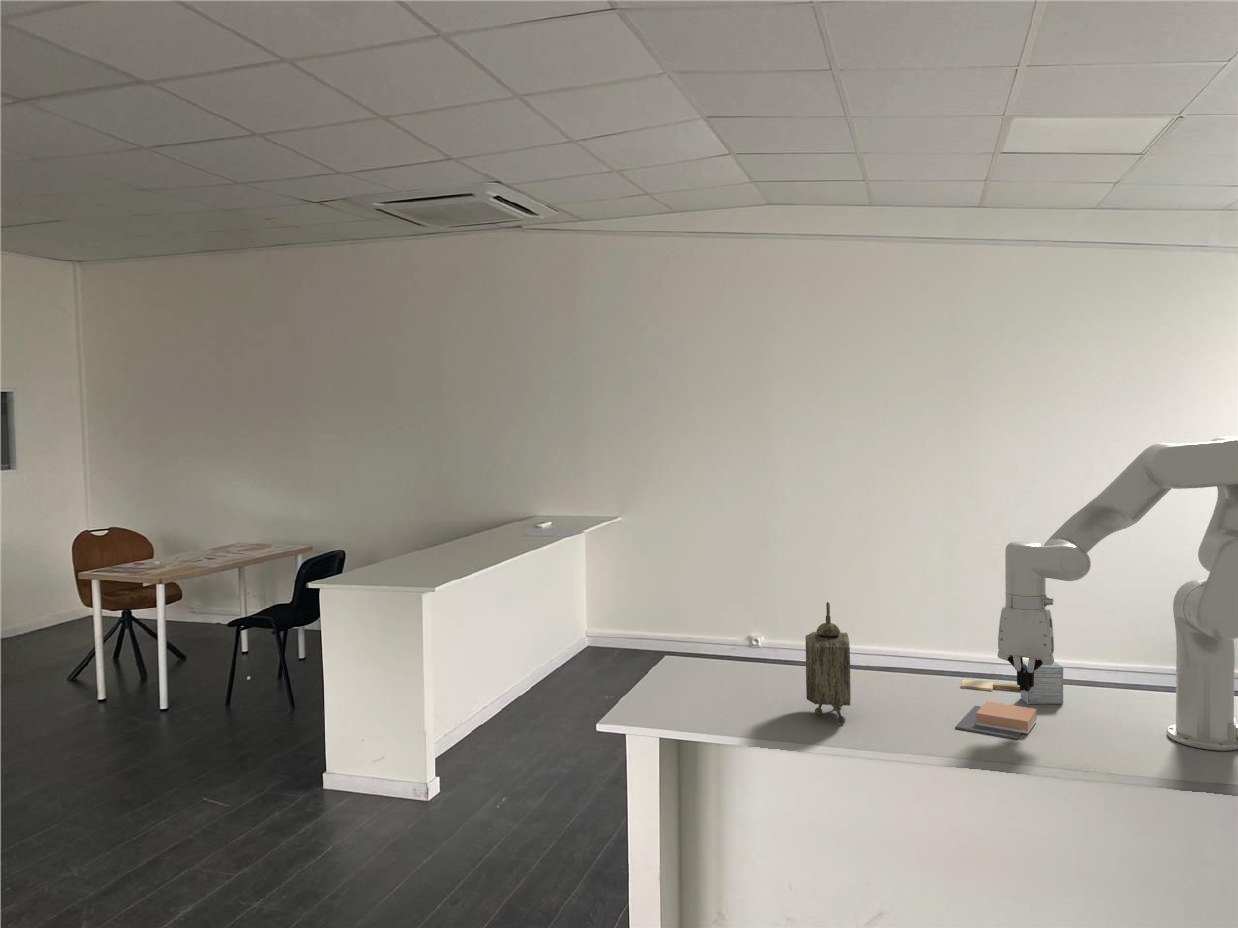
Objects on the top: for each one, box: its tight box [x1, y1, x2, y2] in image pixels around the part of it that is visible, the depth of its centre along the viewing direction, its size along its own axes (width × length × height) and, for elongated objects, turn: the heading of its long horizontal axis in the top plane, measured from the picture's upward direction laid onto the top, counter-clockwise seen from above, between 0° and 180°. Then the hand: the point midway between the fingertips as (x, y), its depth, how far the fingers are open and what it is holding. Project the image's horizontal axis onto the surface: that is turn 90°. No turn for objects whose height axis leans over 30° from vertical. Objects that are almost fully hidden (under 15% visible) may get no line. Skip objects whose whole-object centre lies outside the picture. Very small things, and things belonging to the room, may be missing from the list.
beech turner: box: [960, 679, 1021, 692], centre depth 209 cm, size 17×6×1 cm, turn 64°
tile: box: [976, 701, 1038, 735], centre depth 184 cm, size 2×9×10 cm
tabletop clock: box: [804, 601, 851, 725], centre depth 192 cm, size 14×9×25 cm, turn 168°
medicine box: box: [1020, 661, 1064, 705], centre depth 198 cm, size 8×4×9 cm, turn 84°
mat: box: [954, 705, 1023, 740], centre depth 186 cm, size 12×16×1 cm
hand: (1025, 689), depth 182 cm, fingers closed
